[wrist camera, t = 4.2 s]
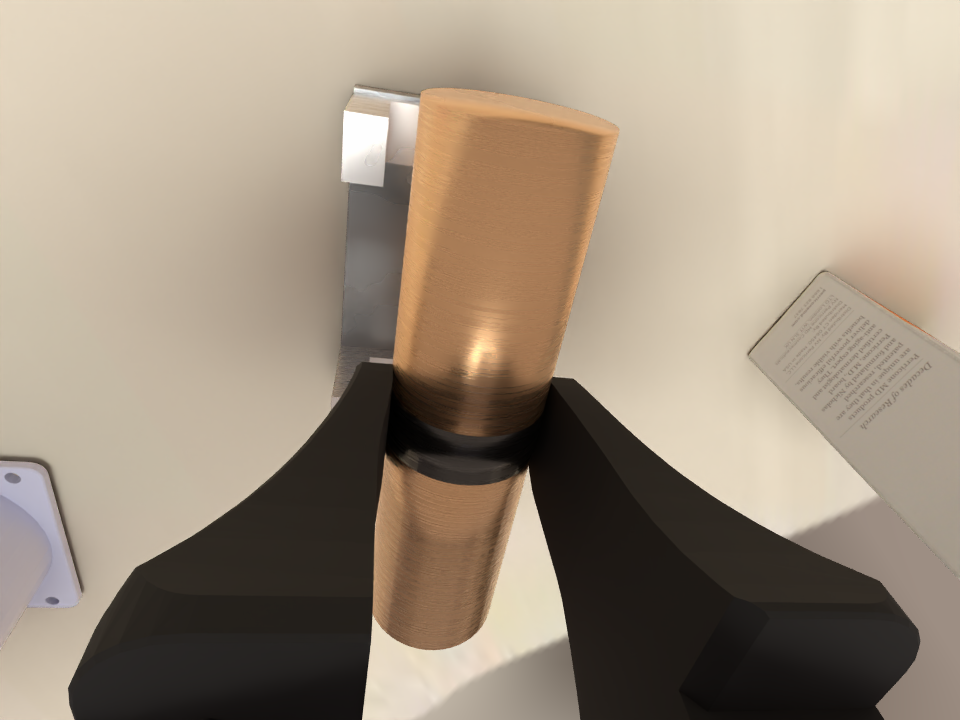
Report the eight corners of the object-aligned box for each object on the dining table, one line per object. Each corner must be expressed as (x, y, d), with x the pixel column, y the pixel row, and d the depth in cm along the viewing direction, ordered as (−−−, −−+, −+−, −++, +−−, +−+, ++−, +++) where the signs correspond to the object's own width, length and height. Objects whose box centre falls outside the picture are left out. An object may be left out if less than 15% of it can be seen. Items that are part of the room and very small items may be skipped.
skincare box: (924, 328, 23) (1327, 591, 13) (843, 408, 25) (1140, 693, 15) (821, 262, 21) (1204, 514, 11) (740, 354, 23) (1005, 644, 13)
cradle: (340, 377, 21) (329, 441, 18) (355, 84, 16) (344, 106, 13) (507, 389, 23) (522, 452, 19) (568, 119, 18) (602, 146, 14)
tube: (482, 544, 17) (499, 649, 15) (369, 543, 17) (365, 652, 14) (588, 107, 11) (651, 147, 8) (415, 79, 10) (424, 112, 8)
